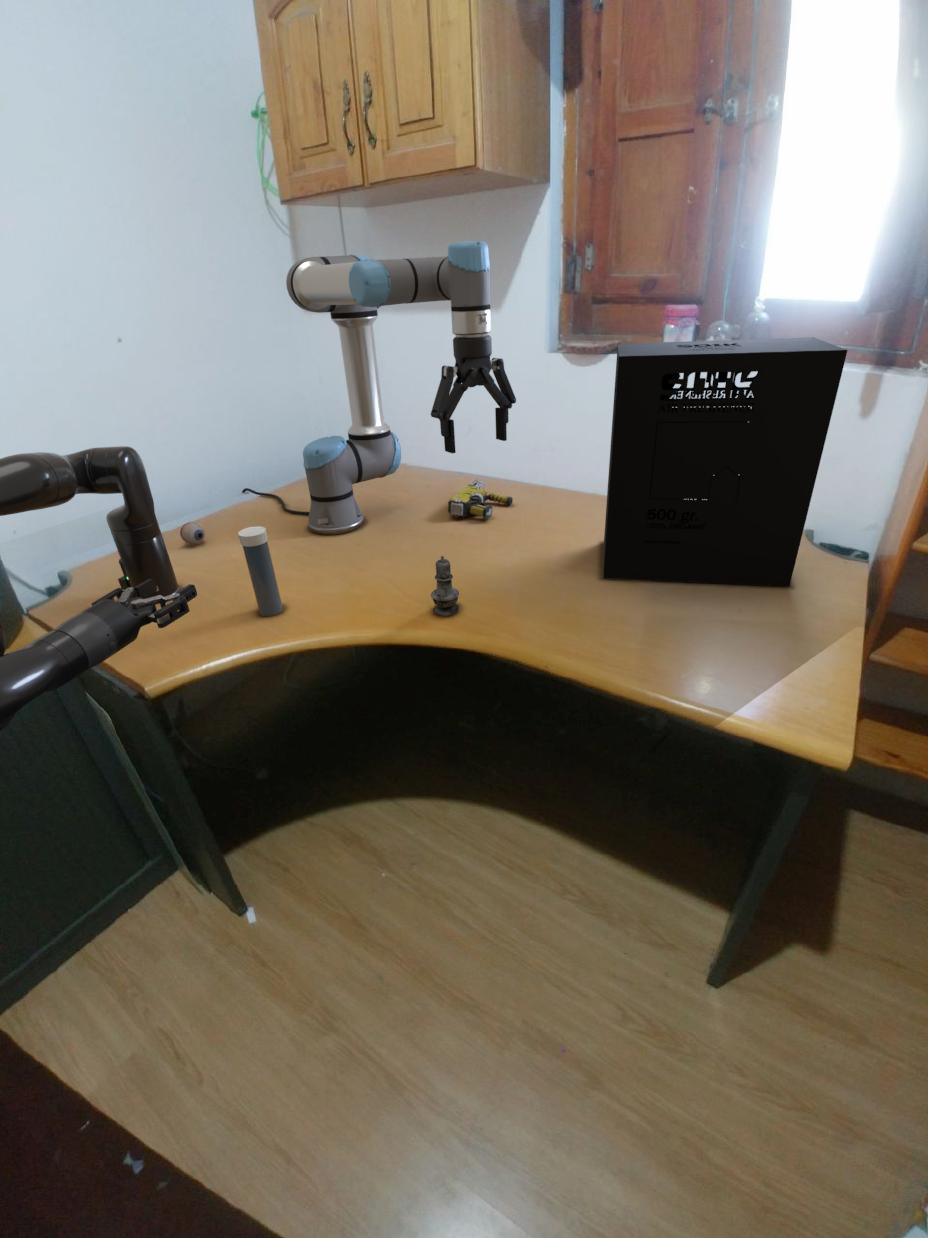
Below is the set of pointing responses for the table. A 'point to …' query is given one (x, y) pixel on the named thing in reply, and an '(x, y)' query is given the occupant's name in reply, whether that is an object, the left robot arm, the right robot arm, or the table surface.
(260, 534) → the white cylinder
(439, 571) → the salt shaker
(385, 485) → the table surface
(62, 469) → the left robot arm
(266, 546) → the bottle
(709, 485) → the cardboard box
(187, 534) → the eyeball
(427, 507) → the table surface
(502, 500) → the toy gun
